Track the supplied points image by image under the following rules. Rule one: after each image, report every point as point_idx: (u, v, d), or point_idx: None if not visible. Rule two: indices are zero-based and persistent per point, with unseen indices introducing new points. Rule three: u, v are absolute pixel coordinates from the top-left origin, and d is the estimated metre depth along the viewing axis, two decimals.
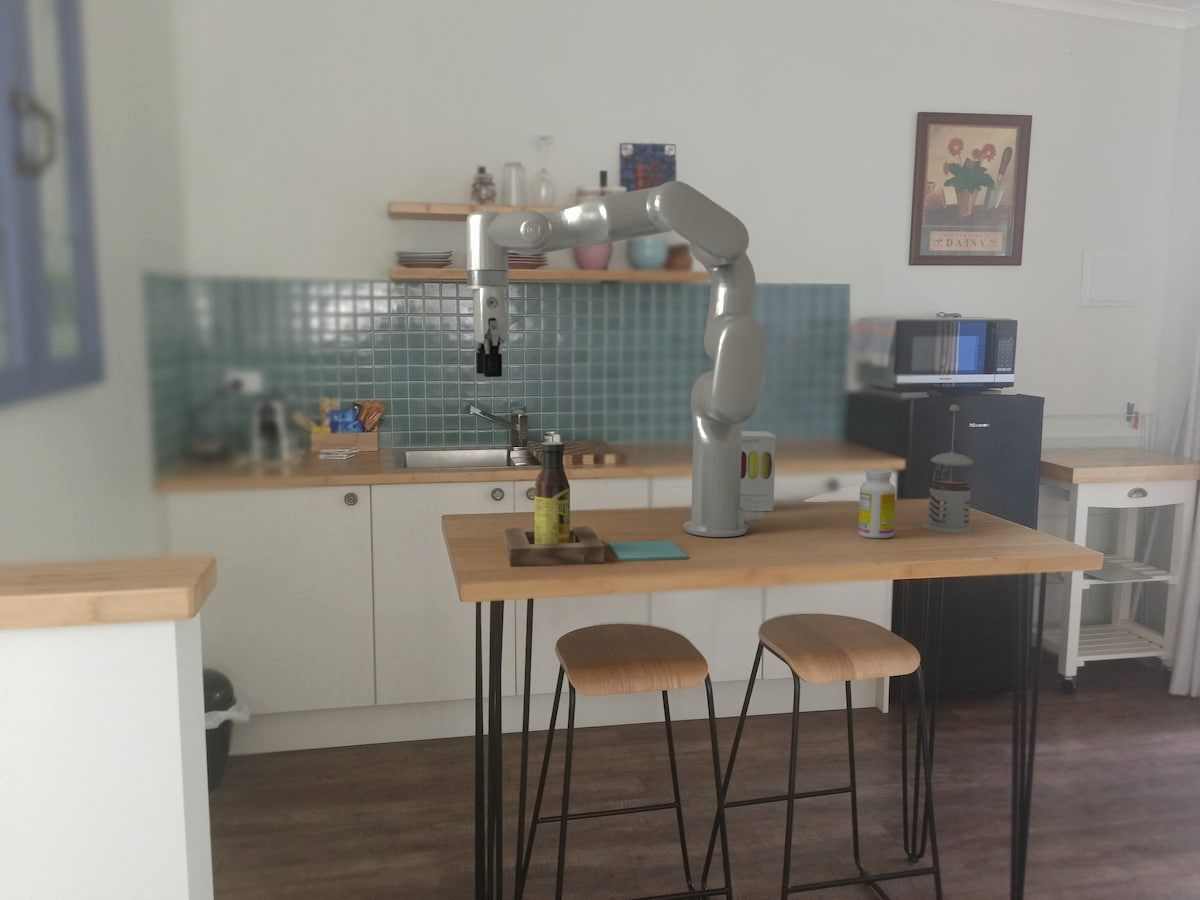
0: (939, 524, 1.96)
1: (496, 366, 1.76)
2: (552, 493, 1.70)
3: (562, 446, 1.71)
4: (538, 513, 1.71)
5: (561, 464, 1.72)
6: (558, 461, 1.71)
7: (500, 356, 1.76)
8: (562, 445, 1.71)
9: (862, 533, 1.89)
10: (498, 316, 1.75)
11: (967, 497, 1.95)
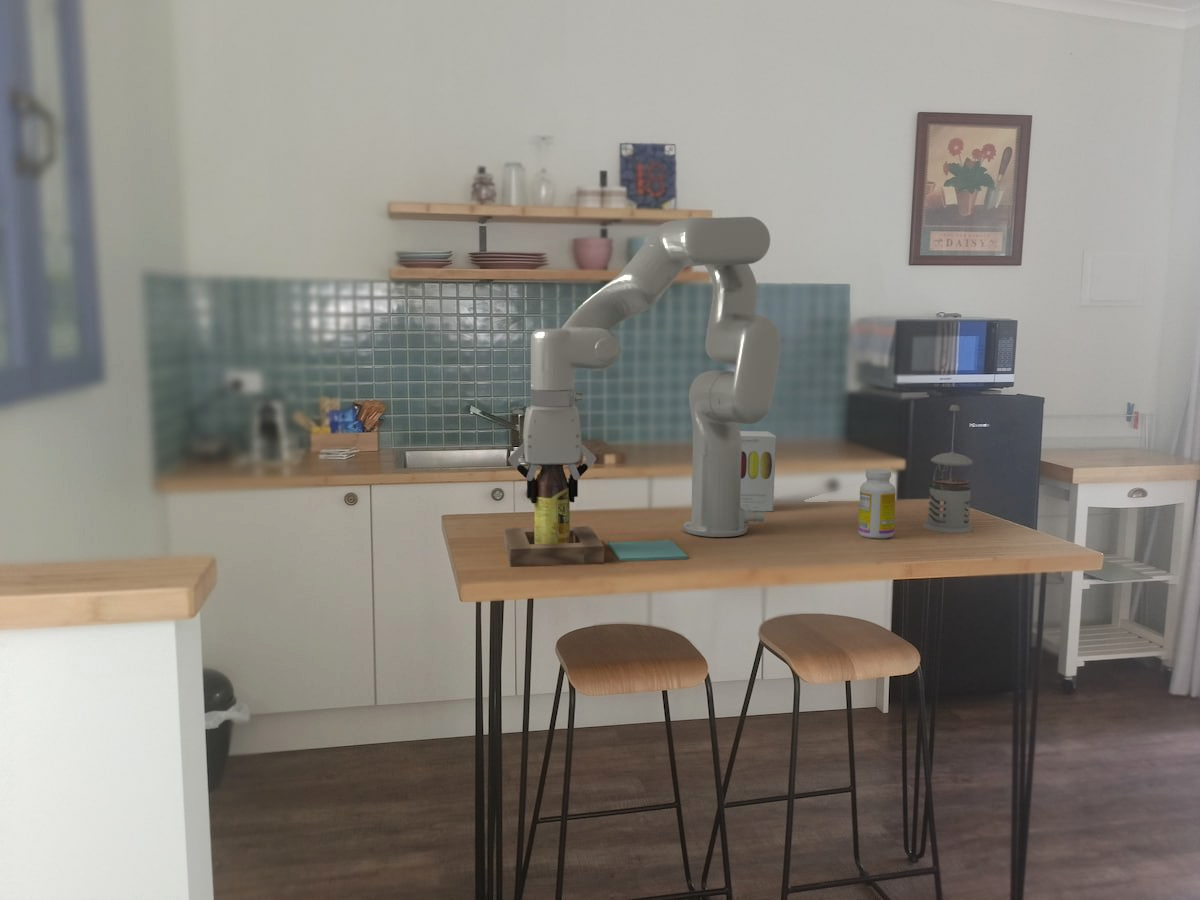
0: (939, 524, 1.96)
1: None
2: (551, 493, 1.70)
3: None
4: (538, 513, 1.71)
5: None
6: None
7: None
8: None
9: (862, 533, 1.89)
10: None
11: (967, 497, 1.95)
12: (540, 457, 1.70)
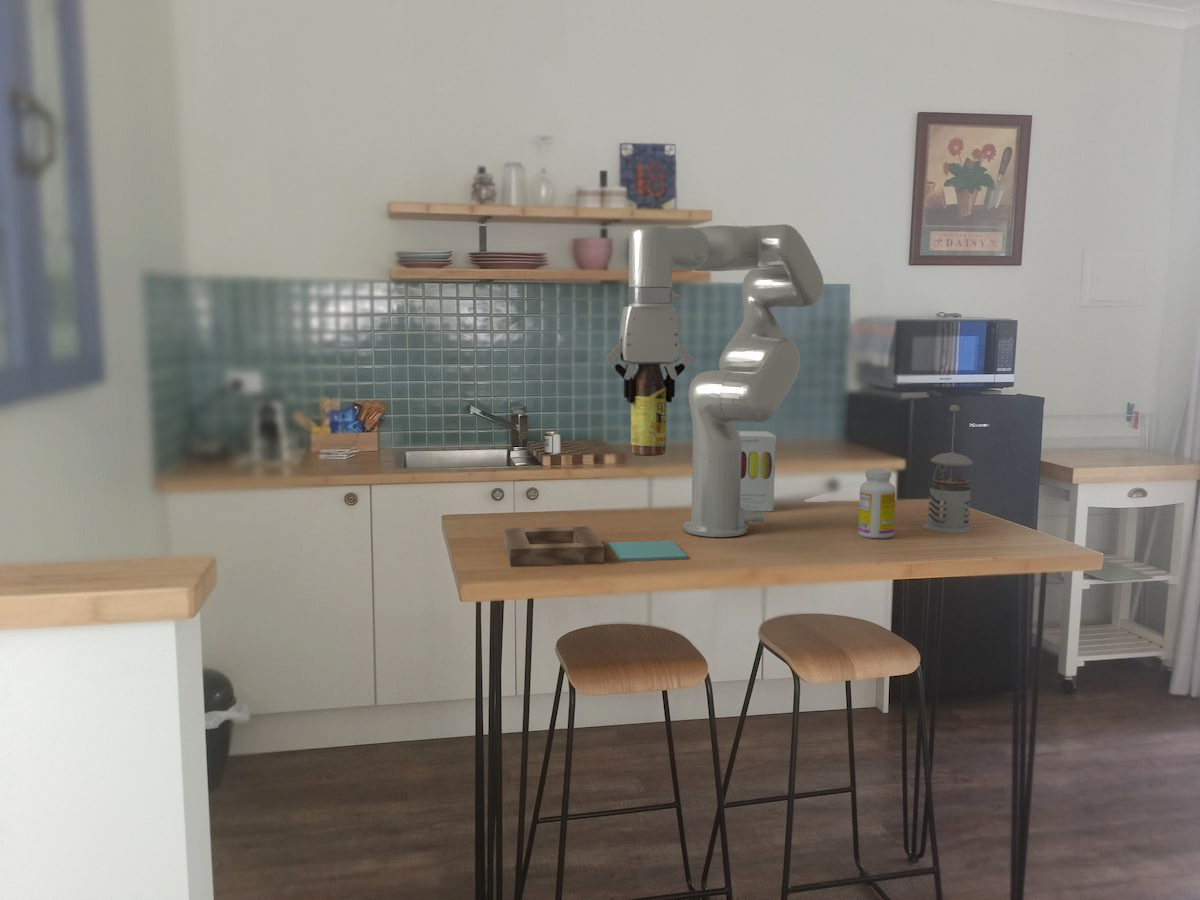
0: (939, 524, 1.96)
1: None
2: (650, 392, 1.69)
3: None
4: (635, 412, 1.71)
5: None
6: None
7: None
8: None
9: (862, 533, 1.89)
10: None
11: (967, 497, 1.95)
12: (639, 355, 1.69)
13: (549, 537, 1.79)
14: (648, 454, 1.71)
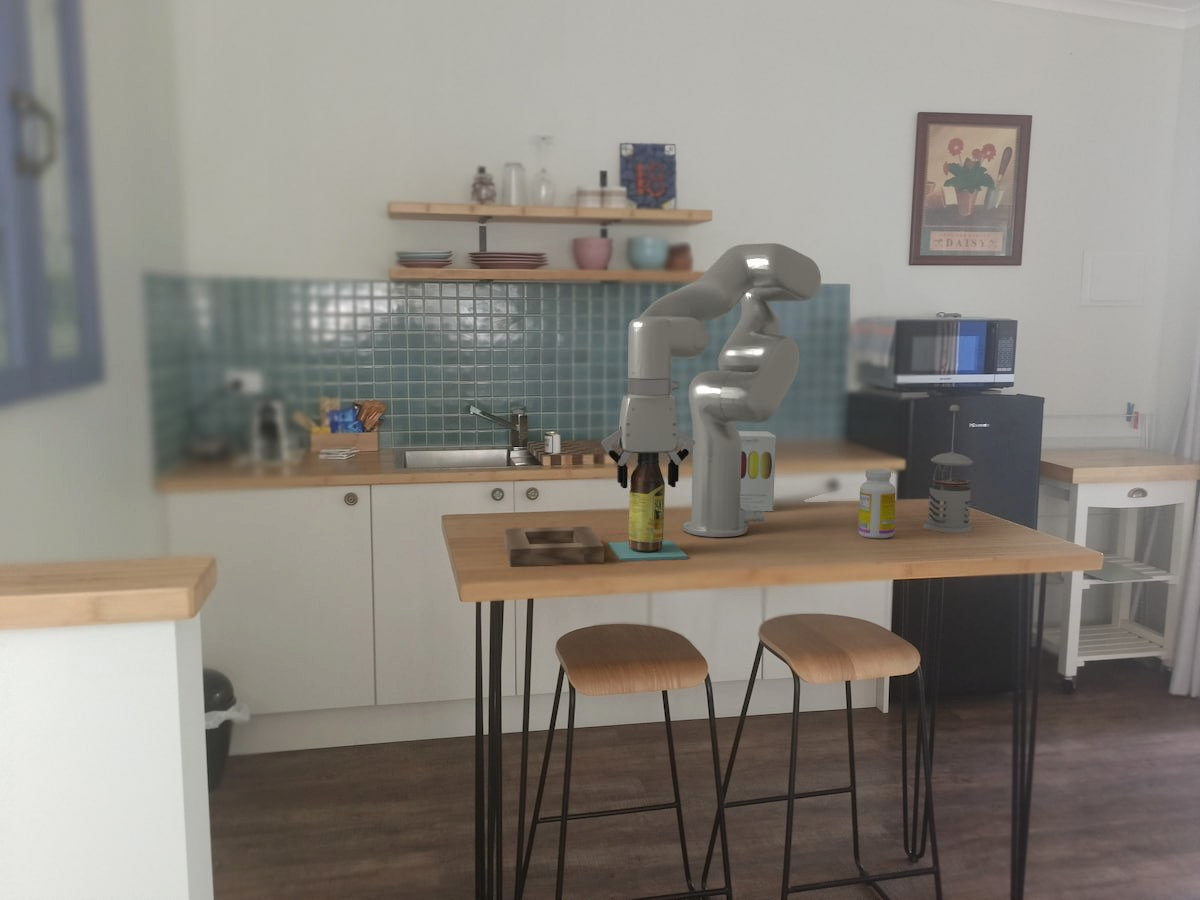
0: (939, 524, 1.96)
1: None
2: (649, 489, 1.72)
3: None
4: (634, 508, 1.73)
5: (657, 460, 1.73)
6: (654, 457, 1.73)
7: None
8: None
9: (862, 533, 1.89)
10: None
11: (967, 497, 1.95)
12: (638, 445, 1.71)
13: (549, 537, 1.79)
14: (645, 550, 1.73)
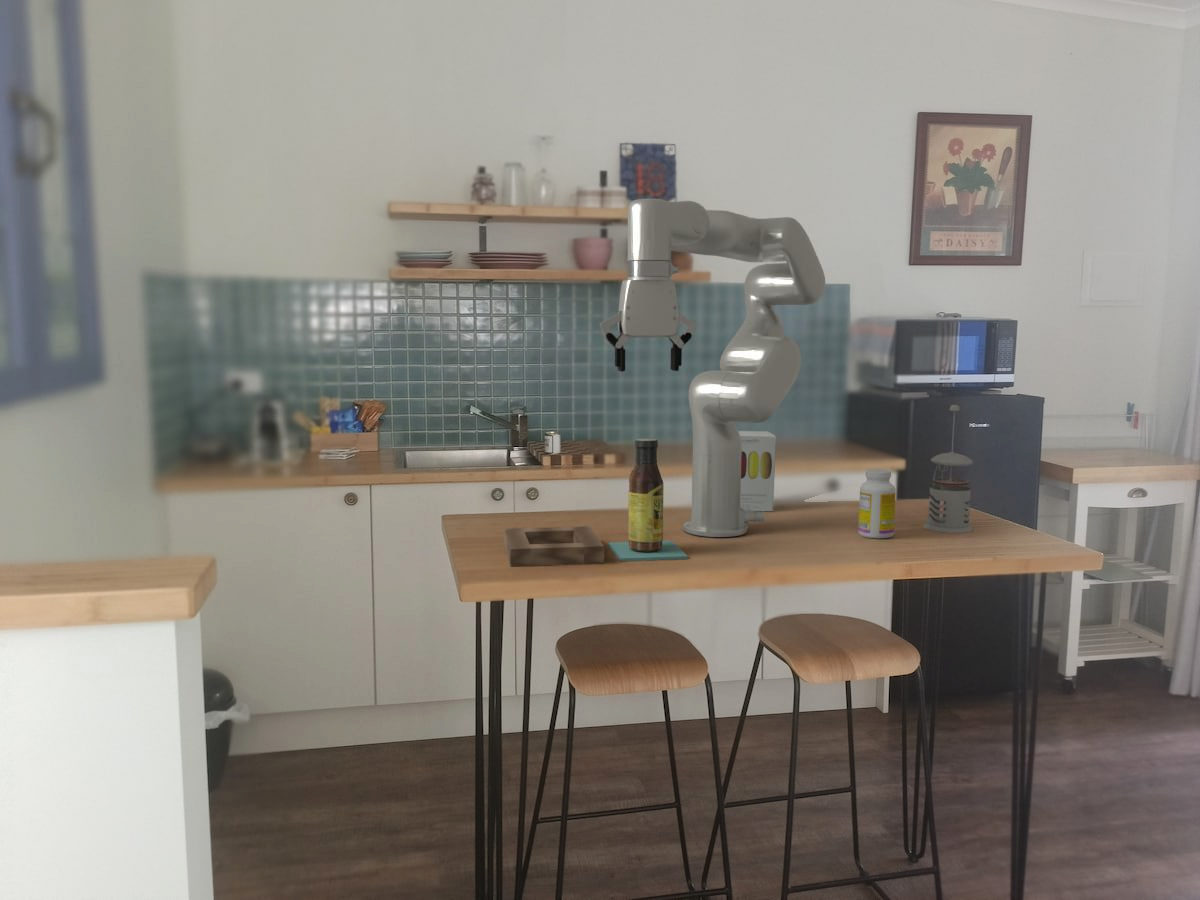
0: (939, 524, 1.96)
1: None
2: (647, 489, 1.72)
3: (656, 442, 1.73)
4: (633, 508, 1.73)
5: (655, 460, 1.73)
6: (652, 457, 1.73)
7: None
8: (656, 441, 1.73)
9: (862, 533, 1.89)
10: None
11: (967, 497, 1.95)
12: (638, 329, 1.69)
13: (549, 537, 1.79)
14: (645, 550, 1.73)
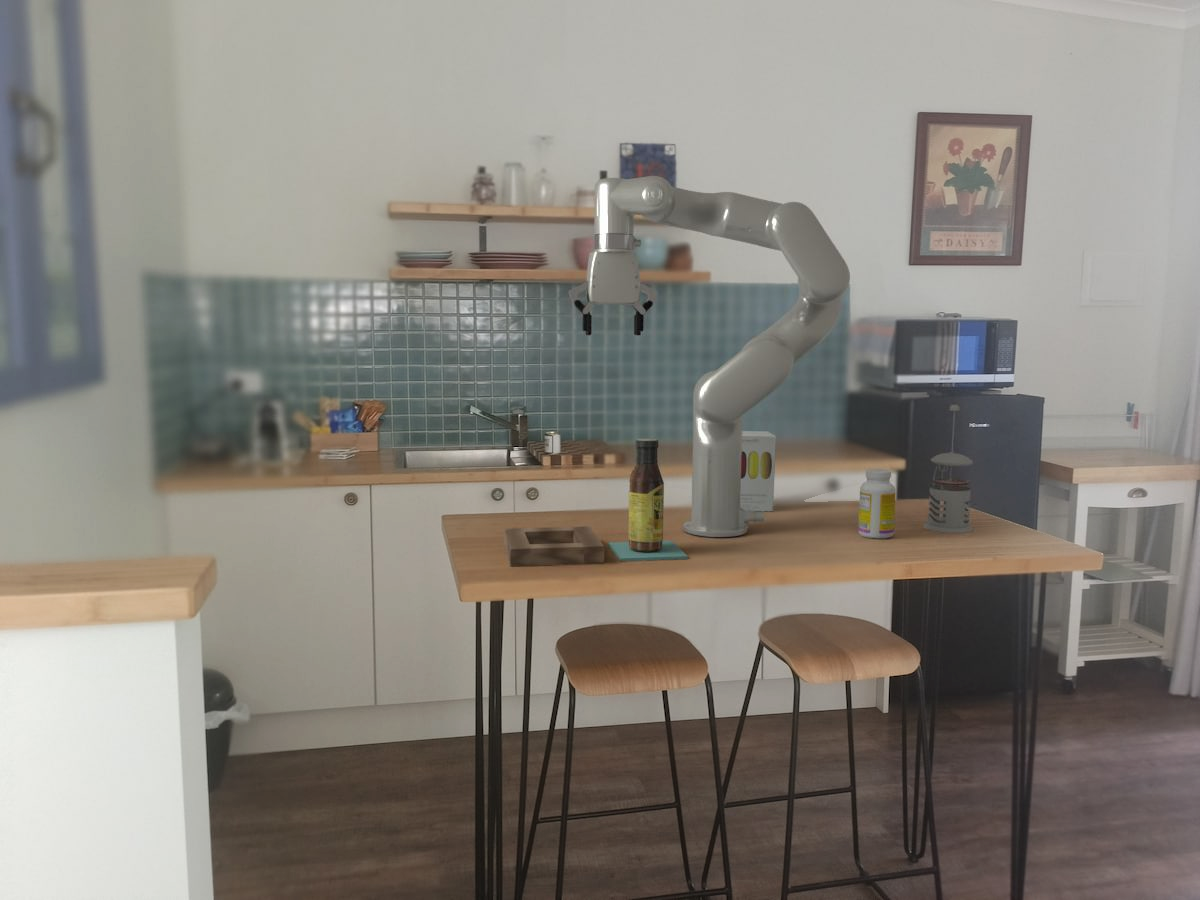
0: (939, 524, 1.96)
1: None
2: (648, 489, 1.72)
3: (657, 442, 1.73)
4: (633, 508, 1.73)
5: (656, 460, 1.74)
6: (653, 457, 1.73)
7: None
8: (656, 441, 1.73)
9: (862, 533, 1.89)
10: None
11: (967, 497, 1.95)
12: (603, 296, 1.87)
13: (549, 537, 1.79)
14: (645, 550, 1.73)
